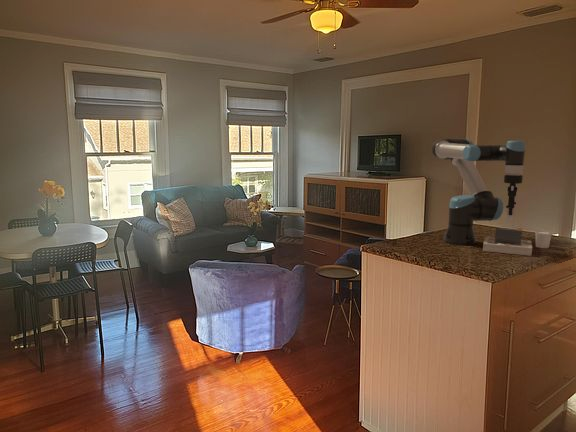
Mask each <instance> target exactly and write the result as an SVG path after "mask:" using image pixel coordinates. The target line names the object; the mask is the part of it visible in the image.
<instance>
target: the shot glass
mask: <svg viewBox="0 0 576 432" xmlns="http://www.w3.org/2000/svg"><path fill="white" fill-rule="evenodd" d="M551 238H552V233H551V232H547V231H535V239H534V240H535V247H536V248H540V249H549V248H550V243H551Z"/></svg>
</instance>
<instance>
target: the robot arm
mask: <svg viewBox="0 0 576 432" xmlns="http://www.w3.org/2000/svg"><path fill="white" fill-rule="evenodd" d="M430 151H431V155H432V156H433V157H434V158H436V159H437V160H446V161H447V160H450V161H451V163H452V165H453V166H456V167H457V169H458V172H459V174H460V176H461V178H462V181H463V182H464V185H465V187H466V189H467V191H468V193H469V194H465V195H464V194H463V195H461V194H460V195H454V196H453V197H451V198H450V201H449V206H448V207H449V208H448V209H449V211H448V224H447V228H446V231H445V233H444V236H443V241H444V242H445V243H449V244H453V245H461V246H462V245H468V246H469V245H475V244H476V241H477V238H476V234H475V230H474V222H478V221H479V222H481V221H482V222H483V221H484V222H485V221H487V222H491V221H498V220H499V219H500V217H502V215H503V212H504V203H503V199H501V198H500V197H495V195H494V194H493V191H491V190H488V189H487V186H486V184H485V183H484V180H483V179H482V177H481V175H480V172H479V171H478V168H477V167H476V164H475V162H505V165H504V174H505V175H504V176H503V177H504V178H503V183H505V184H509V186H507V196H508V202H507V205H506V206H505V208H507V210H506V220H505V221H506V223H514V216H515V215H514V214H515V205H516V204H517V201H515V200H516V199H515V198H516V196H517V192H518V186H517V185H518V184H519V185H520V184H522V183H523V178H524V177H523V174H524V170H525V167H524V162H525V152H526V143H525V141H524V140H508V141H507V142H506V144H504V145H503V144H474V142H473V141H472V140H470V139H467V138H439V139H437V140H435V141H434V142H433V144H432V145H431V148H430Z"/></svg>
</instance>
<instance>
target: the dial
mask: <svg viewBox="0 0 576 432" xmlns="http://www.w3.org/2000/svg"><path fill="white" fill-rule="evenodd" d="M522 232H523V228H521V227H517V228H515V229H513V228H501V227H495V233H494V235H495V241H494V244H500V245H506V244H509V245H511V246H522V244H521V240H522V234H523V233H522Z"/></svg>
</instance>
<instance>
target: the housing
mask: <svg viewBox="0 0 576 432" xmlns="http://www.w3.org/2000/svg"><path fill="white" fill-rule="evenodd" d="M494 241H495V237H494V236H485V237H484V241H483V245H482V251H483V252H489V253H501V254H508V255H509V254H510V255H518V256H527V257H528V256H529V257H532V253H533V243H532V240H530V239H529V240H528V239H521V244H522V246H511V245H509V244H506V245H500V244H494Z"/></svg>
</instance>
